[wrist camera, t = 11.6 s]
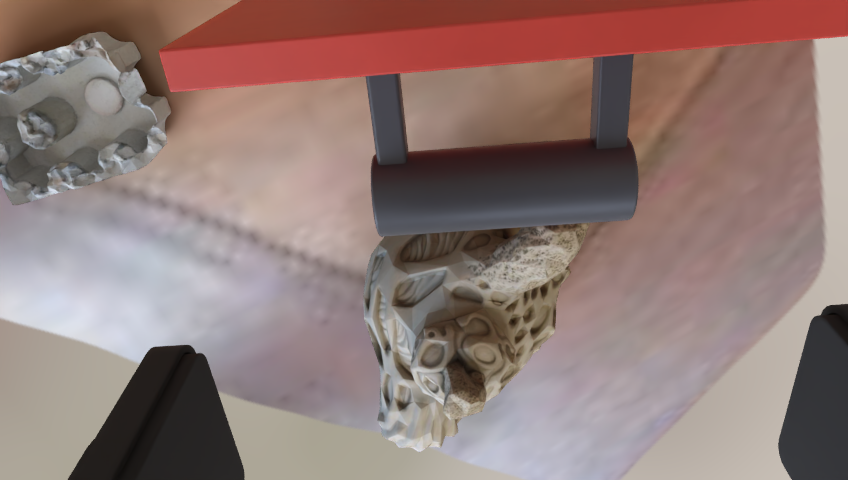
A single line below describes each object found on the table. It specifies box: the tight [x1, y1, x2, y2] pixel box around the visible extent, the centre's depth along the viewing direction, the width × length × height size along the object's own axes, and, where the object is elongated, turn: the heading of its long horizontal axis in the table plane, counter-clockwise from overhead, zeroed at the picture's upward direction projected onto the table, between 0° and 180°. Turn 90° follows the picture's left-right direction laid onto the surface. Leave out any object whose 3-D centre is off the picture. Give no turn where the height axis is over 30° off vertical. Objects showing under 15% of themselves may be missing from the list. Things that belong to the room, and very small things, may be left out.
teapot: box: [363, 223, 590, 452], centre depth 35 cm, size 21×12×15 cm, turn 156°
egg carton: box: [0, 32, 171, 205], centre depth 36 cm, size 11×8×4 cm
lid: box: [159, 0, 848, 237], centre depth 19 cm, size 16×13×5 cm
